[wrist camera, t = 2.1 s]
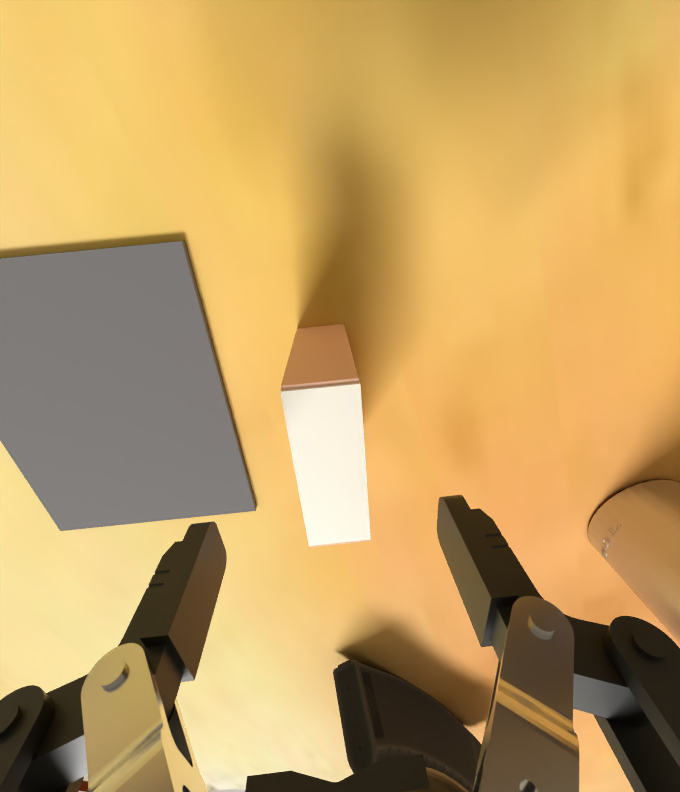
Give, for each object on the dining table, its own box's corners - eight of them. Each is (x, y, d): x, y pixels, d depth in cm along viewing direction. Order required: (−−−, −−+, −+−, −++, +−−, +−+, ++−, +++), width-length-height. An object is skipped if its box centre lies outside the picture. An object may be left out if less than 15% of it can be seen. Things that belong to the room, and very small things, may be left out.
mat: (184, 240, 18) (181, 241, 18) (256, 507, 27) (255, 510, 26) (-104, 268, 18) (-113, 269, 17) (63, 527, 27) (60, 530, 26)
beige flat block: (344, 323, 20) (360, 378, 12) (354, 441, 24) (370, 542, 16) (296, 328, 20) (279, 387, 12) (313, 445, 24) (309, 548, 16)
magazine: (317, 764, 28) (511, 972, 31) (345, 752, 28) (542, 967, 30) (342, 601, 45) (467, 747, 48) (360, 591, 44) (486, 739, 47)
